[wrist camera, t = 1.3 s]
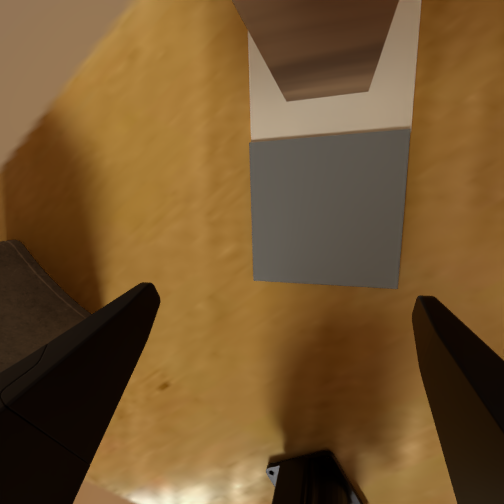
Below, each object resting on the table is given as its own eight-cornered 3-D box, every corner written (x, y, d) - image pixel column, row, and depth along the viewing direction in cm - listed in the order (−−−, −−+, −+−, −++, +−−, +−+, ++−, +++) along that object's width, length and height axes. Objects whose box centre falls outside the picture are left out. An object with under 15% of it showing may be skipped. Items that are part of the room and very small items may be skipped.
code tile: (409, 133, 17) (411, 131, 17) (252, 145, 20) (251, 145, 20) (424, -65, 15) (427, -71, 15) (248, -19, 18) (246, -24, 17)
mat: (395, 286, 19) (397, 288, 19) (255, 278, 22) (253, 280, 21) (407, 130, 17) (410, 128, 17) (251, 143, 20) (249, 142, 19)
